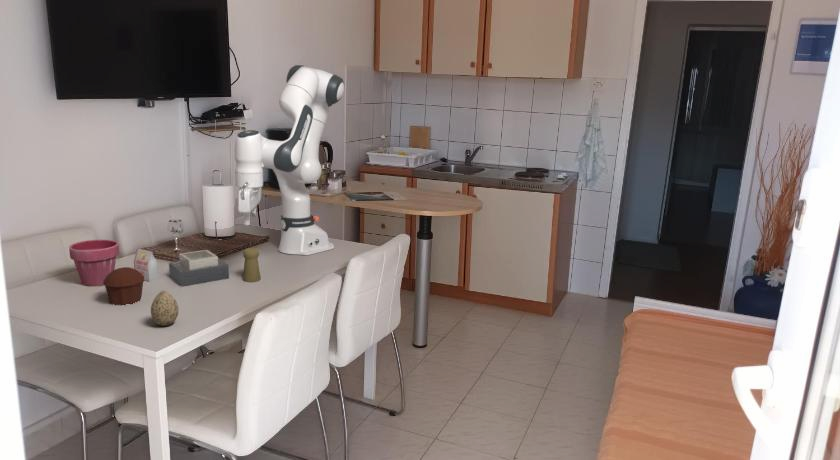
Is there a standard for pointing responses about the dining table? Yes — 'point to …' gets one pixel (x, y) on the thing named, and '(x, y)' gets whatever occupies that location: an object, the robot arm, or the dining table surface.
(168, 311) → the decorative egg
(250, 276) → the cork
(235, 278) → the dining table surface
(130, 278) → the muffin
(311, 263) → the dining table surface
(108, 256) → the plant pot
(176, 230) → the wineglass
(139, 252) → the white box
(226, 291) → the dining table surface
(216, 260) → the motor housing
